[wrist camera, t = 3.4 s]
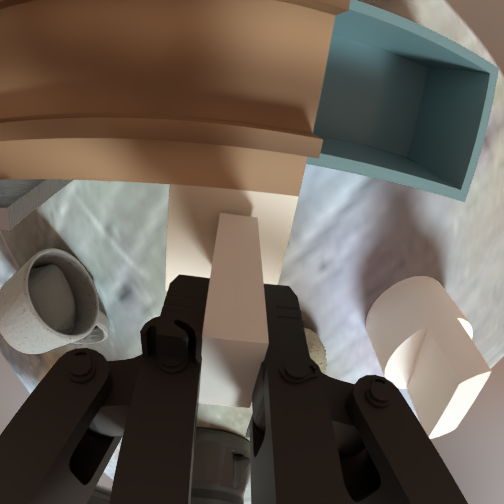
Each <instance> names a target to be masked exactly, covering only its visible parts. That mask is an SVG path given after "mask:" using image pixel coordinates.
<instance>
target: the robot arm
mask: <svg viewBox="0 0 504 504" xmlns="http://www.w3.org/2000/svg"><path fill="white" fill-rule="evenodd" d="M140 334H141V344H142V353H143V354H141V355H140V356H137V357H135V358H132V359H127V360H118V361H106V359H105V358H104V356H103V355H101V354H100V353H98V352H97V351H95V350H91V349H88V348H80V349H74V350H71V351H69V352H66V353H65V354H64V355H63V356H62V357H60V358H59V359H58V361H57V362H56V363H55V364H54V365H53V367H52V368H51V369H50V370H49V372H48V373H47V374H46V375H45V377H44V378H43V379H42V380H41V382H40V383H39V384H38V385H37V387H36V388H35V389H34V391H33V392H32V393H31V395H30V396H29V397H28V398H27V400H26V401H25V403H24V404H23V405H22V406H21V408H20V409H19V410H18V412H17V413H16V414H15V416H14V417H13V418H12V420H11V421H10V423H9V424H8V425H7V427H6V428H5V429H4V431H3V432H2V434H1V435H0V504H244V492H245V489H246V487H247V484H248V481H249V478H250V475H251V504H468V503H467V501H466V500H465V498H464V496H463V494H462V493H461V491H460V489H459V487H458V485H457V484H456V482H455V480H454V479H453V477H452V475H451V474H450V472H449V470H448V468H447V467H446V465H445V463H444V462H443V460H442V458H441V457H440V456H439V453H438V452H437V450H436V448H435V447H434V445H433V444H432V442H431V440H430V439H429V437H428V435H427V434H426V432H425V430H424V429H423V427H422V426H421V424H420V422H419V421H418V419H417V418H416V416H415V414H414V413H413V411H412V410H411V408H410V407H409V405H408V403H407V402H406V400H405V399H404V397H403V396H402V394H401V392H400V391H399V389H398V388H397V387H396V386H395V385H394V384H393V383H392V382H391V381H389V380H388V379H386V378H384V377H381V376H377V375H366V376H364V377H362V378H360V379H359V380H358V381H357V382H356V384H351V383H348V382H344V381H340V380H337V379H334V378H331V377H329V376H327V375H325V374H324V373H322V372H321V370H320V367H319V365H318V364H317V363H316V362H314V361H313V360H312V359H311V358H310V355H309V350H308V345H307V340H306V335H305V331H304V326H303V321H302V316H301V311H300V307H299V302H298V297H297V296H296V295H295V293H294V292H293V291H292V289H291V288H290V287H289V286H282V285H273V284H264V282H263V271H262V260H261V249H260V238H259V227H258V218H257V217H249V216H242V215H234V214H226V213H220V216H219V223H218V229H217V235H216V242H215V248H214V255H213V261H212V268H211V275H210V278H205V277H197V276H189V275H181V274H179V275H178V276H177V277H176V278H175V279H174V280H173V281H172V282H171V283H170V285H169V288H168V291H167V296H166V298H165V301H164V306H163V308H162V312H161V315H160V316H159V317H155V318H153V319H151V320H150V321H148V322H147V323H145V325H144V326H143V328H142V329H141V331H140ZM251 402H252V407H253V414H252V417H251V420H250V423H249V426H248V429H247V433H246V437H250V442H249V441H247V440H246V439H244V438H242V437H240V436H237V435H234V434H231V433H228V432H224V431H219V430H212V429H203V428H196V423H197V412H198V403H203V404H212V405H222V406H234V407H248V408H250V405H251ZM122 436H123V438H122ZM121 438H122V442H121V447H120V452H119V456H118V461H117V466H116V471H115V476H114V481H113V486H112V489H110V488H107V487H104V486H101V485H98V484H97V483H98V481H99V479H100V477H101V475H102V473H103V472H104V470H105V468H106V466H107V464H108V462H109V460H110V459H111V457H112V455H113V453H114V451H115V449H116V447H117V446H118V444H119V442H120V440H121Z"/></svg>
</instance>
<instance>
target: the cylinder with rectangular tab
mask: <svg viewBox="0 0 504 504" xmlns="http://www.w3.org/2000/svg"><path fill="white" fill-rule="evenodd" d="M366 331H367V334H368V336H369V339H370V341H371V344H372V346H373V348H374V351H375V353H376V356H377V358H378V361H379V363H380V366H381V369H382V371H383V374H384V376H385V378H386V379H388V380H389V381H391V382H392V383H393V384H394V385H395V386H396V387H397V388H400V389H407V390H408V393H409V395H410V398H411V400H412V403H413V405H414V408H415V410H416V413H417V415H418V418H419V420H420V423H421V426H422V427H423V429H424V430H425V432H426V434H427V435H428V437H429V439H432V438H435V437H439V436H441V435H444V434H446V433H448V432H451V431H453V430H455V429H456V427H457V426H458V425H459V423H460V422H461V420H462V419H463V417H464V416H465V414H466V413H467V411H468V410H469V408H470V407H471V405H472V403H473V402H474V400H475V399H476V397H477V395H478V394H479V392H480V391H481V389H482V387H483V385H484V384H485V382H486V380H487V378H488V377H489V375H490V373H491V370H490V368H489V366H488V365H487V363H486V361H485V360H484V358H483V357H482V355H481V353H480V352H479V350H478V349H477V347H476V346H475V344H474V342H473V341H472V336H473V334H472V327H471V325H470V323H469V322H468V320H467V319H466V317H465V316H464V315H463V313H462V312H461V310H460V309H459V308H458V306H457V305H456V304H455V302H454V301H453V300H452V298H451V297H450V296H449V294H448V293H447V292H446V290H445V289H444V288H443V286H442V285H441V284H440V282H438V281H437V280H435V279H434V278H432V277H427V276H413V277H410V278H407V279H404V280H401V281H400V282H398V283H396V284H394V285H392V286H391V287H389V288H388V289H387V290H386V291H384V292H383V293H382V294H381V295H380V296H379V297H378V298H377V300H376V301H375V302H374V303H373V305H372V307H371V308H370V310H369V312H368V315H367V318H366Z"/></svg>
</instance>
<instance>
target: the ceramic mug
mask: <svg viewBox="0 0 504 504" xmlns="http://www.w3.org/2000/svg"><path fill="white" fill-rule="evenodd" d="M96 325H97V326H98V327H99V328H96V329H94V327H95V326H96ZM0 334H1V335H2V337H3V338H4V340H5V341H6V342H7V343H8V344H9V345H10V346H11V347H12V348H14V349H15V350H17V351H19V352H22V353H25V354H41V353H45V352H48V351H50V350H52V349H54V348H57V347H61V346H64V345H66V344H69V343H75V344H95V343H99V342H102V341H104V340H105V339H106V338H107V337H108V335H109V321H108V318H107V316H106V315H105V314H104V313H102V312H101V311H100V310H99V299H98V293H97V290H96V287H95V285H94V282H93V280H92V278H91V276H90V274H89V273H88V272H87V270H86V269H85V267H84V266H83V265H82V264H81V263H80V262H79V261H78V260H77V258H75V257H74V256H73V255H71V254H70V253H68V252H66V251H63V250H61V249H56V248H48V249H44V250H41V251H39V252H37V253H36V254H35V255H33V256H32V257H31V258H30V259H29V260H28V261H27V262H26V263H25V264H24V265H23V266H22V267H21V268H20V269H19V270H18V271H17V272H16V273H15V274H14V275H13V276H12V277H11V278H10V279H9V280H8V281H7V282H6V283H5V284H4V285H3V286H2V288H1V290H0Z"/></svg>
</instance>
